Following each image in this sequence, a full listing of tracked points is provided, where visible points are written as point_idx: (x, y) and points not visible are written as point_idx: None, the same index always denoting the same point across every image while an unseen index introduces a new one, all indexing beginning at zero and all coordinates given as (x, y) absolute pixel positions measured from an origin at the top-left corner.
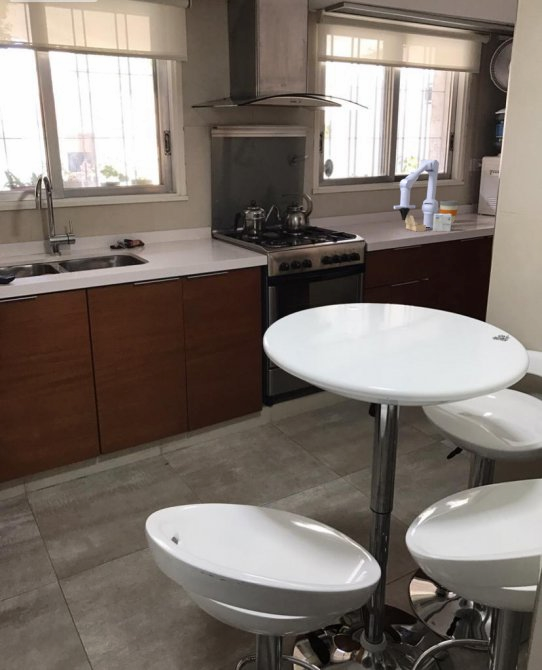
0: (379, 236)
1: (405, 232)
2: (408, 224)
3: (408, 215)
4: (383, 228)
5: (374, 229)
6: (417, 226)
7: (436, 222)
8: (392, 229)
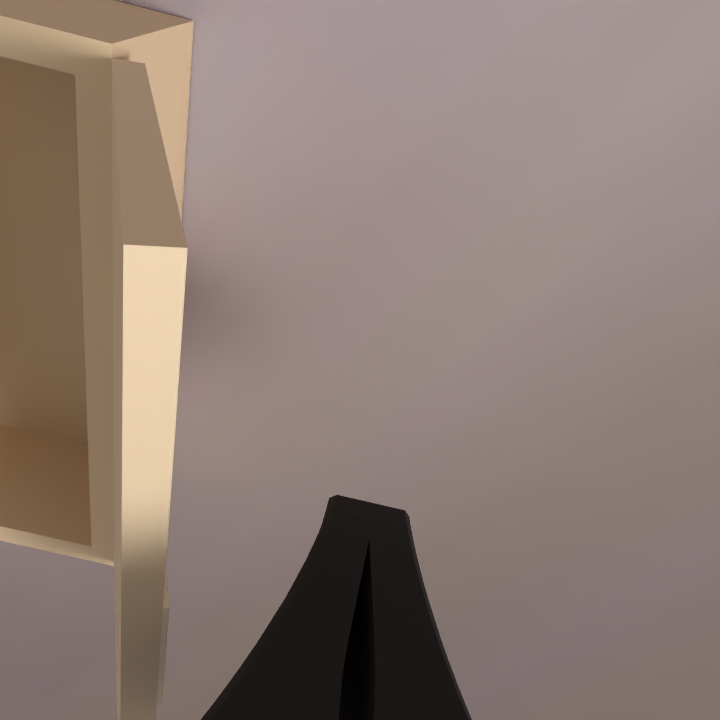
0: None
1: (563, 82)
2: None
3: (149, 622)
4: (479, 665)
5: (699, 675)
6: (78, 26)
7: None
8: (437, 547)
